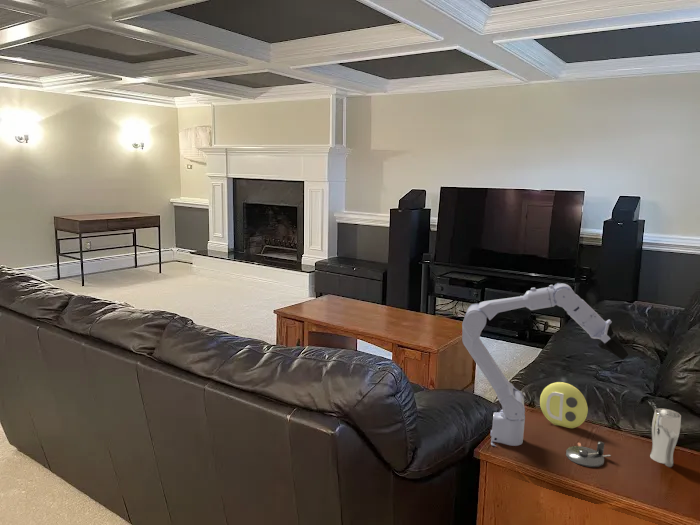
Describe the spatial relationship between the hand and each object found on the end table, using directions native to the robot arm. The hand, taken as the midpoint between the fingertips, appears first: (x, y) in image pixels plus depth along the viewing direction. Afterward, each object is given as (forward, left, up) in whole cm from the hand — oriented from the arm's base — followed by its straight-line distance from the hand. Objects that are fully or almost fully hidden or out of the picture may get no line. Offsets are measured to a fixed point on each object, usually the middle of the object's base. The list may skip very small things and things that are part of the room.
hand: (622, 352), depth 152 cm
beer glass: (+14, +4, -32) cm, 36 cm away
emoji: (-12, +17, -32) cm, 39 cm away
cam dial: (-8, -4, -31) cm, 32 cm away
